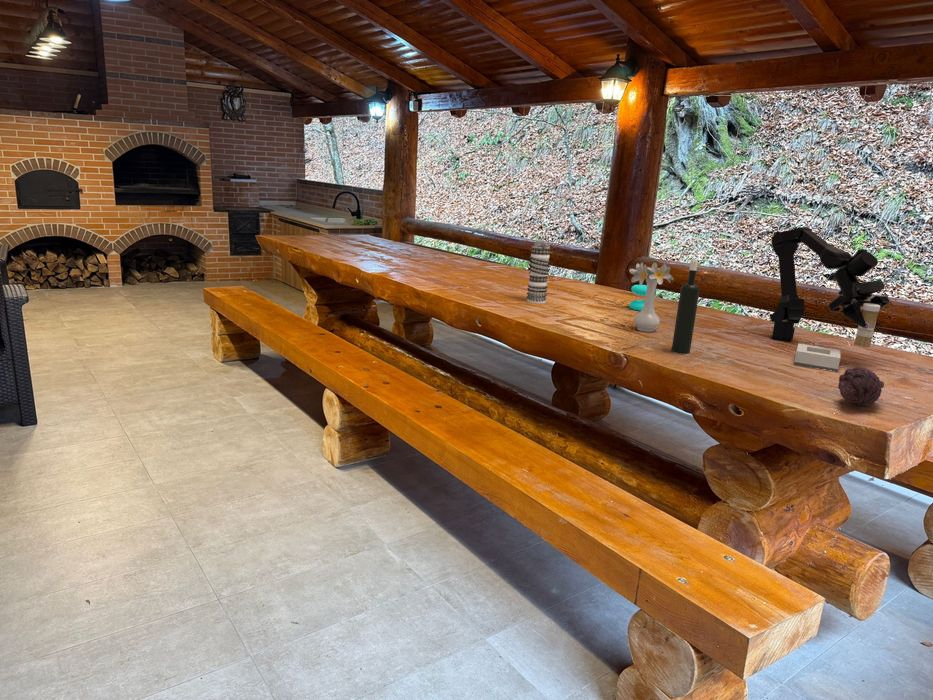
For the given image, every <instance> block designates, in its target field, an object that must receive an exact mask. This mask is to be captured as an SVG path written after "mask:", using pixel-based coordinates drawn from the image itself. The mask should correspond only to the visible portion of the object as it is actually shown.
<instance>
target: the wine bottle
mask: <svg viewBox="0 0 933 700" xmlns="http://www.w3.org/2000/svg"><path fill="white" fill-rule="evenodd" d="M698 262H699V259H696V258H691V259H690V264H689V273H688V279H687V283H684V284H682V285H681V287H680V289H679V297H678V303H677V311H676V317H675V322H674V323H675V324H674V330H673V337H672V344H671V352H674V353H677V354H683V355H685V354H690V353H691V348H692V347H691V346H692V342H693V336H694V330H695V321H696V316H697V310H698V304H699V296H700V287H699V286H698V285H697V284H696V283H695V282H696V274H697V270H698Z"/></svg>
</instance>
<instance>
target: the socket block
mask: <svg viewBox="0 0 933 700" xmlns="http://www.w3.org/2000/svg"><path fill="white" fill-rule="evenodd" d="M793 362H794V363H793V366H797V365H798V367H803V366H804V367H805V368H809V367H811V368H810V369H815V368H819V369H818V370H821V369H826V370H825V371H827V370H832V371H831V372H833V371H837V372H839V371H838V370H839V366H840V362H841V350H840V349H836V348H831V347H829V348H828V347H823V346H819V345H818V346H817V345H811V344H806V343H805V344H804V343H798V344H797V349H796V352H795V357H794V361H793ZM804 367H803V368H804Z"/></svg>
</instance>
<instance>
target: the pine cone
mask: <svg viewBox="0 0 933 700" xmlns="http://www.w3.org/2000/svg"><path fill="white" fill-rule="evenodd" d="M837 385H838V386H837V389H839V394H840V396H841V397H842V399H843V400H845V401H848V402H849V403H852V404H856V405H858V406H863V407H864V406H865V407H868V406H870V405H874V404H875V403H876V402H877V401H878V400H879V398H880V397H881V395H882V391H883V389H884V387H885V382H884V380H880V377H879V376H878V375H877V374H876V373H875V372H874V371H872V370H869V369H868V368H866V367H858V366H855V367H853V368H847V369H845V371H844V373H843V374H839V377H838V384H837Z"/></svg>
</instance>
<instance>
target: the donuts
mask: <svg viewBox="0 0 933 700" xmlns="http://www.w3.org/2000/svg"><path fill="white" fill-rule="evenodd" d="M656 291H657V289H655V293H656ZM631 292H632V293H633V294H635V295H637V296H641V297H642V296H645V297H646V292H647V284H642V285H640V284H634V285H632V286H631ZM644 303H645V299H644V300H643V299H634V300H631V302H630V303H629V304H628V305H629V308H630V309H631V310H633V311H638V312H640V311H641V310H642V308H643V306H644Z"/></svg>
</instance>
